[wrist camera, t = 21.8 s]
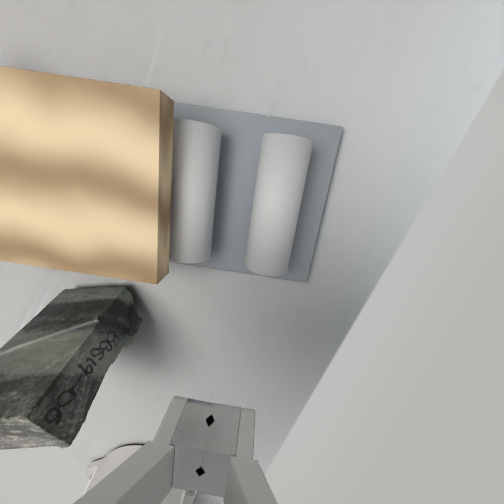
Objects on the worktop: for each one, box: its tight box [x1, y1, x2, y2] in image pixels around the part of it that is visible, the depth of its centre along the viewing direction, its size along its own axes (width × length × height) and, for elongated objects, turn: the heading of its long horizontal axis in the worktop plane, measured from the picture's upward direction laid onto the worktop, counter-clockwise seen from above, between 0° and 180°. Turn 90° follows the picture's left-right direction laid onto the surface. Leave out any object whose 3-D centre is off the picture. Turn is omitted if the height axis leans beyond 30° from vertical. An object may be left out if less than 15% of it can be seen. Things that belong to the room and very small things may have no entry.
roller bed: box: [169, 102, 343, 282], centre depth 20 cm, size 16×34×10 cm, turn 82°
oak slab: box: [0, 66, 174, 284], centre depth 18 cm, size 14×16×2 cm
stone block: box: [0, 287, 142, 449], centre depth 23 cm, size 9×14×5 cm
